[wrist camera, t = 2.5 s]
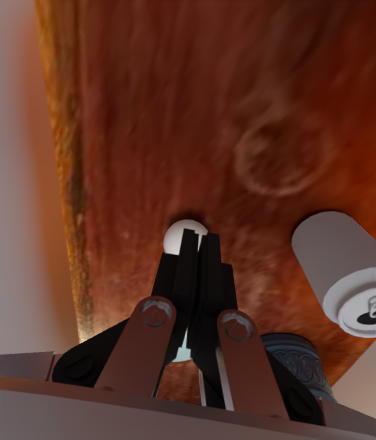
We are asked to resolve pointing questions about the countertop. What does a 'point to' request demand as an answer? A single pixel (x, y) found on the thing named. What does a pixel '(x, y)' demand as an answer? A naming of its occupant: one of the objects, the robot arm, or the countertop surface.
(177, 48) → the countertop surface
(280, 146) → the countertop surface
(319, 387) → the canister
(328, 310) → the can
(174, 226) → the cue ball
